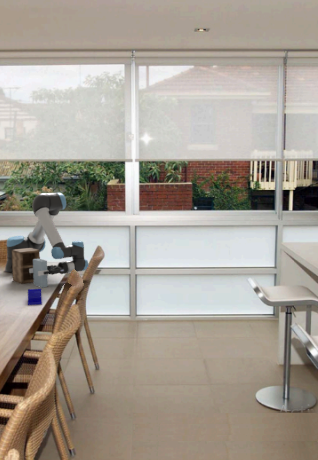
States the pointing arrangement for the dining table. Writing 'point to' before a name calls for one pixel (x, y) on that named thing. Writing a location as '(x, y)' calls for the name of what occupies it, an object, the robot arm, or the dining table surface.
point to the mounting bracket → (34, 297)
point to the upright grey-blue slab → (37, 266)
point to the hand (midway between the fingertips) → (33, 272)
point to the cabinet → (23, 264)
